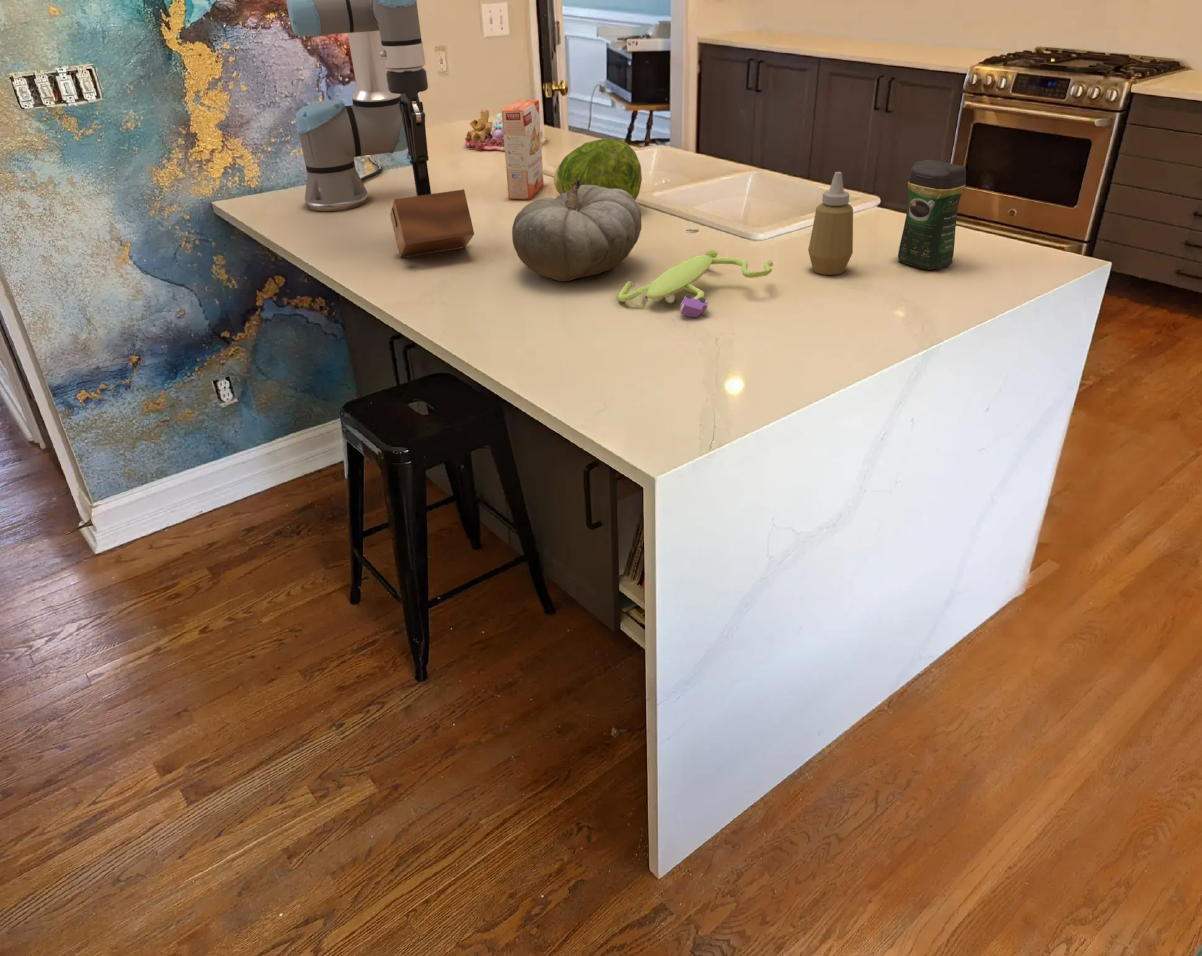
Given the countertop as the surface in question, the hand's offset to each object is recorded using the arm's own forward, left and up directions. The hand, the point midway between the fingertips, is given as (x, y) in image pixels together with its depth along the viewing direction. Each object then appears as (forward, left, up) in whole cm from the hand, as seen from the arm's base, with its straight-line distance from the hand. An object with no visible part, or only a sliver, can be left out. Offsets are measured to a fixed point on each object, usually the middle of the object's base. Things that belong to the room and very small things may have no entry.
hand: (424, 194), depth 181 cm
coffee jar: (+54, +83, -12) cm, 100 cm away
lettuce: (-11, +41, -12) cm, 44 cm away
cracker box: (-34, +32, -12) cm, 48 cm away
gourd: (+26, +23, -12) cm, 37 cm away
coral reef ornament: (-93, +44, -12) cm, 103 cm away
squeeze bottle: (+49, +65, -12) cm, 82 cm away
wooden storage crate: (-1, 0, -8) cm, 8 cm away
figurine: (+48, +38, -12) cm, 62 cm away
